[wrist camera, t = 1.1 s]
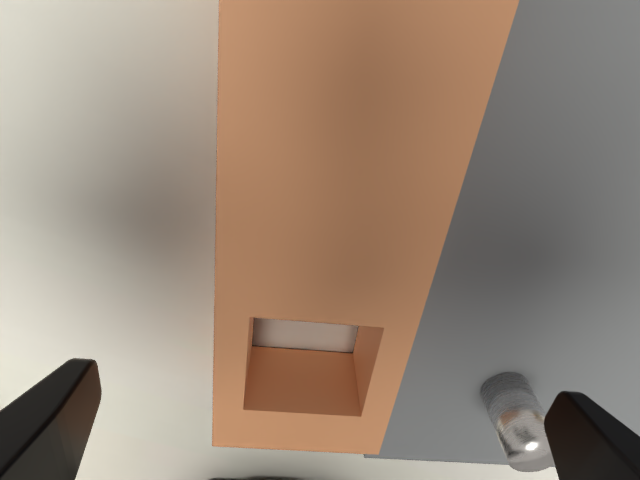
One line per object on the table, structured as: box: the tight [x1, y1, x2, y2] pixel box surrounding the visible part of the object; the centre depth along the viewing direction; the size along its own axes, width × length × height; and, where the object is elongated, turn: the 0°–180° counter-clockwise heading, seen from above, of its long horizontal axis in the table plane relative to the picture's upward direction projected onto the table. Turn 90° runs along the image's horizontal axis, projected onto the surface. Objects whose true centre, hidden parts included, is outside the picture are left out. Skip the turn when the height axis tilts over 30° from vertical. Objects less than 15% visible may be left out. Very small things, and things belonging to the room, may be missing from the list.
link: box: [212, 0, 519, 455], centre depth 14 cm, size 16×6×3 cm, turn 173°
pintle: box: [480, 372, 554, 472], centre depth 18 cm, size 2×2×3 cm
